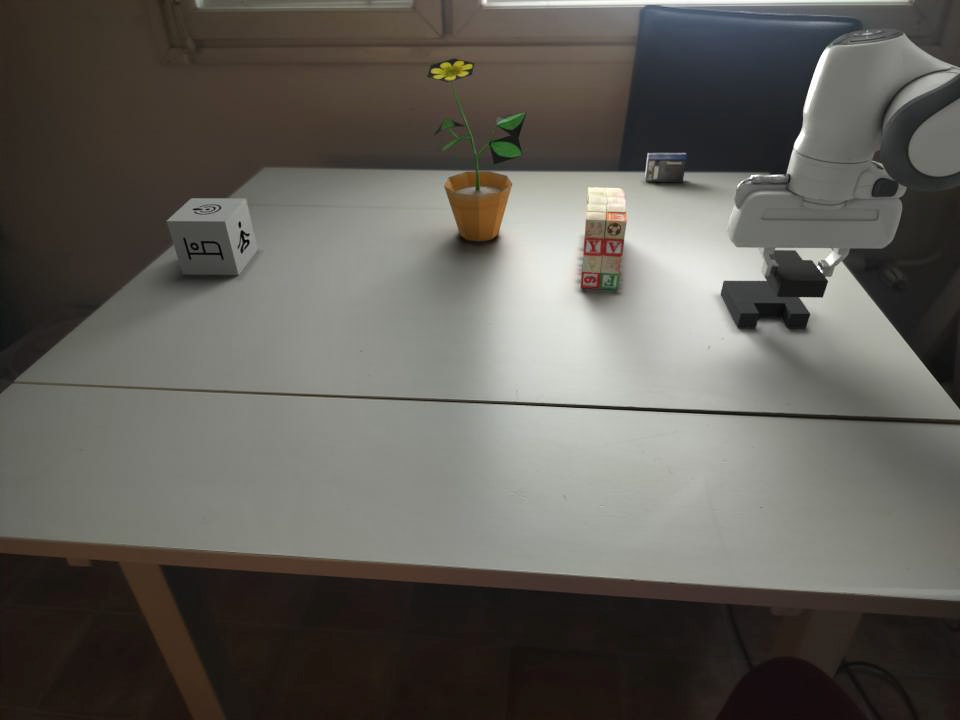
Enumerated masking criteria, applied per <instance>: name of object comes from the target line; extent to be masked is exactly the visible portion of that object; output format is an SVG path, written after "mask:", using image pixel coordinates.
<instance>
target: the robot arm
mask: <svg viewBox="0 0 960 720" xmlns="http://www.w3.org/2000/svg"><path fill="white" fill-rule="evenodd" d="M802 118H803V119H802V125H801V130H800V132H799V134H798V136H797V138H796V139H795V141H794V143H793V148H792V151H791V155H790V158H789V163H788V166H787V169H786V173H785V174H779V173H778V174H760V173H757V174H751V176H750V177H747V178H745V179H743V180H741V182H740V183H738V185H737V186H736V189H735V194H734V199H733V200H734V202H733V203H734V206H733V208H732V210H731V214H730V217H729V220H728V222H727V227H726V234H727V237H728V238H729V241H730V242H731V243H732V244H733V246H734V247H736V248H749V249H750V248H757V249H758V250H759V253H760V256H761V259H762V260H763V261H762V265H761V268H760V269H761V270H760V271H761V274H762V275H763V277H764V276H775V275H776V271H777V270H778V267H779V265H778V264H777V263H776V261H775V260H771V259H770V256H769V254H774V251H775V250H776V249H832V252H831V253H830V254H829V255H828V256H827V257H826V258H825V259H818V262H817V267H818V269H819V270H820V271H821V273H822V274H823V275H824V276H825V278H831V277H833V274H834V272H835V268H836V267H837V266H838V265H839V264H840V263H842V262H843V261H844V259H846V257H848V256H849V255H850V250H851V249H873V250H874V249H878V250H879V249H881V250H882V249H884V248H886V247H887V246H888V245H890V244H891V243H893V241H894V239H895V236H896V234H897V230H898V228H899V224H900V220H901V216H902V213H903V202H902V200H901V199H900V198H901V197H903V196H904V195H905V194H906V191H907V189H910V190H913V191H919V192H940V191H946V190H950V189H954V188H957V187H959V186H960V67H959V66H957V65H953V64H951V63H948V62H945V61H943V60H941V59H939V58H937V57H934V56H933V55H931V54H930V53H928V52H926V51H925V50H923V49H922V48H920V47H919V46H917V45H916V44H915V43H914V42H912V41H911V40H910V39H909V38H908V36H907V34H905V32H904V31H902V30H900V29H899V30H898V29H896V28H883V27H882V28H881V27H880V28H867V29H859V30H854V31H851V32H849V33H848V32H847V33H844V34H842V35H840V36H838V37H836V38H834V40H833V41H831V42H830V43H829V44H828V45H827V46H826V47H825V49H824V50H823V52H822V54H821V55H820V57H819V60H818V62H817V64H816V66H815V70H814V72H813V75H812V78H811V81H810V84H809V87H808V91H807V95H806V97H805V101H804V106H803V110H802ZM876 152H879V156H880V161H881V162H879V161H875V160H873V159H874V156H875V153H876Z"/></svg>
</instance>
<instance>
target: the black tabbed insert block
mask: <svg viewBox="0 0 960 720" xmlns="http://www.w3.org/2000/svg"><path fill="white" fill-rule="evenodd" d="M769 256H770V259H771V260H775V261H776V263H777V264H778V265H779V267H778V270H777V271H776V275H775V276H764V275H763V278H764V279H765V281H767V282H768V283H769V285H770V286H771V288H772V290H773V291H774V293H775V294H776V296H777V297H799V298H824V295H825V292H826V290H827V286H828V283H829V280H828V279H827V277H825V276H824V275H823V274H822V273H821V271H820V270H819V269H818V265H817V264H816V263H815V262H814V261H813V260H812V259H803V258H802V256H800V254H799V253H798V252H797V250H795V249H794V250H793V249H792V250H791V249H775V251H774V254H769Z"/></svg>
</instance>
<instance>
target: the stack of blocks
mask: <svg viewBox="0 0 960 720" xmlns="http://www.w3.org/2000/svg"><path fill="white" fill-rule="evenodd" d="M625 193H626V192H625V190H623V189H622V188H620V187H587V194H586V195H587V196H586V209H585V210H586V211H585V222H584V223H585V224H584V225H585V226H584V237H583V251H582V252H583V253H582V256H583V257H582V264H581V275H580V288H581V289H593V290H595V289H596V290H599V289H600V290H613V291H618V290H619V285H620V278H621V267H622V259H623V255H624V246H625V236H626V230H627V223H628V220H627V219H628V217H627V201H626V194H625Z"/></svg>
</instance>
